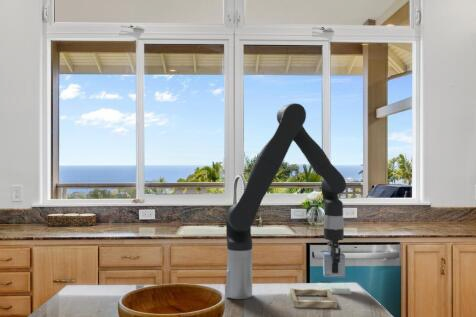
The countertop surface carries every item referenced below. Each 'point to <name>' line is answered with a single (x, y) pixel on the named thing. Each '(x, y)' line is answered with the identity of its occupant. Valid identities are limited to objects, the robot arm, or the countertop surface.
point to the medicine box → (328, 265)
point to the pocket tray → (311, 303)
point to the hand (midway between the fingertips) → (333, 271)
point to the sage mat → (335, 288)
